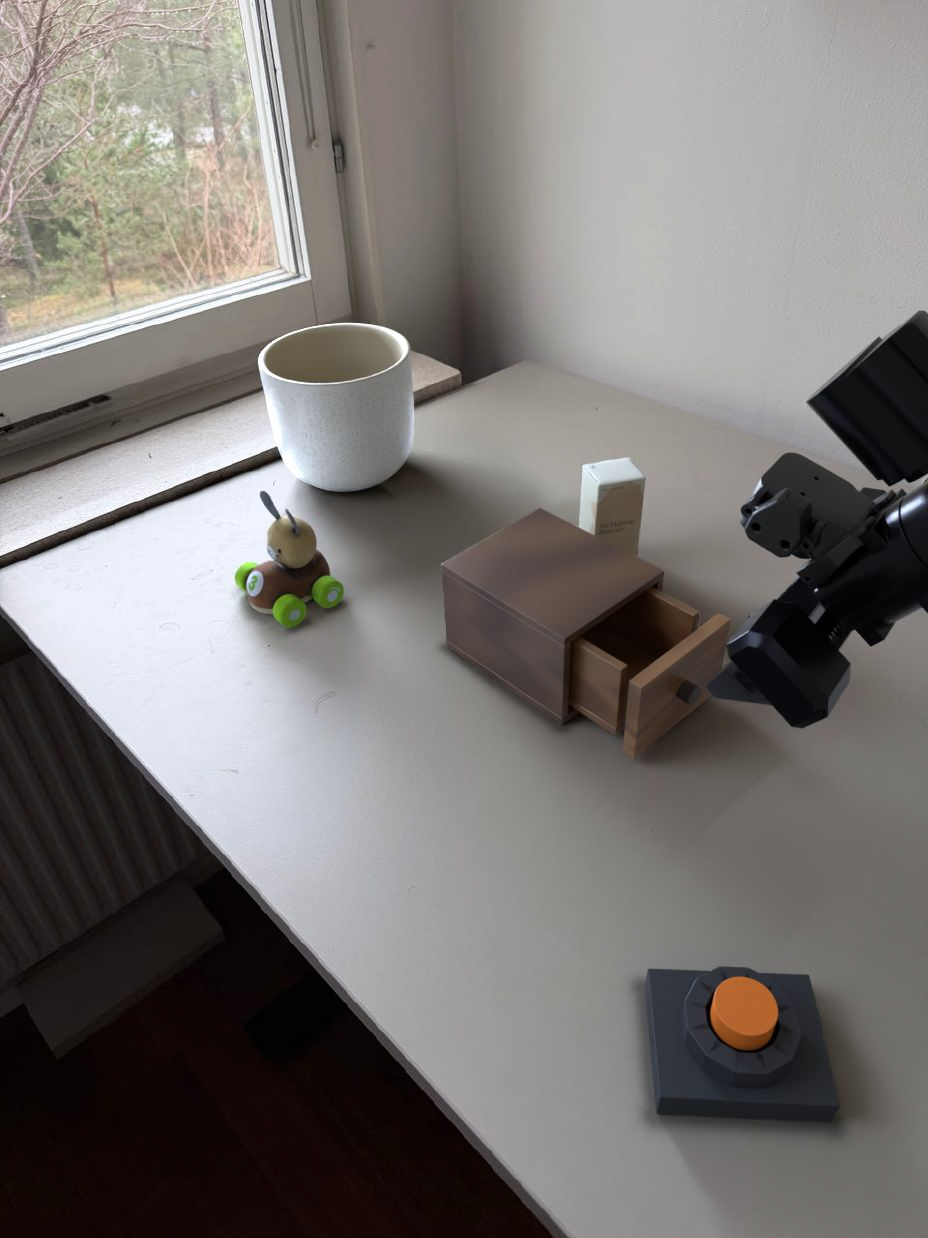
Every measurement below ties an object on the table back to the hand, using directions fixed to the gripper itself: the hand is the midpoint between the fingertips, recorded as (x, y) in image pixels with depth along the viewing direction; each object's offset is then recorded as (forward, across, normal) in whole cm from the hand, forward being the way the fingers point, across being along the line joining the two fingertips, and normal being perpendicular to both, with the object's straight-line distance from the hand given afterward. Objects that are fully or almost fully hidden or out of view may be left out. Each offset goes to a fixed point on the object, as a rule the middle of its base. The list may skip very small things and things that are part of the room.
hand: (742, 652), depth 62 cm
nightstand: (+24, -8, -7) cm, 27 cm away
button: (+4, +17, +15) cm, 23 cm away
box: (+26, -23, -9) cm, 36 cm away
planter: (+47, -22, -38) cm, 64 cm away
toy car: (+40, 0, -28) cm, 49 cm away
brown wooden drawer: (+19, -6, -1) cm, 20 cm away
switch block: (+7, +17, +17) cm, 25 cm away
